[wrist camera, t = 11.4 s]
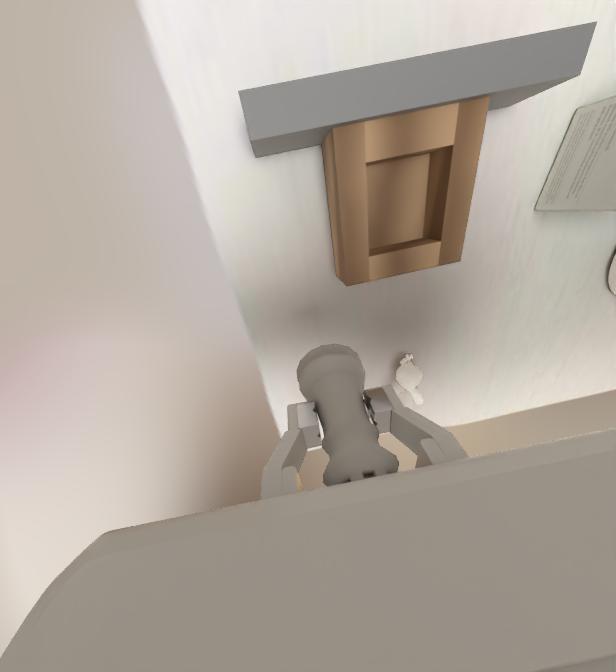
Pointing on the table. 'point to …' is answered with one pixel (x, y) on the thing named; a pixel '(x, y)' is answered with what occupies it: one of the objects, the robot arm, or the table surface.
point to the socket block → (402, 189)
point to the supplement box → (585, 163)
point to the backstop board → (411, 87)
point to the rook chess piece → (343, 415)
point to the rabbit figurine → (409, 382)
